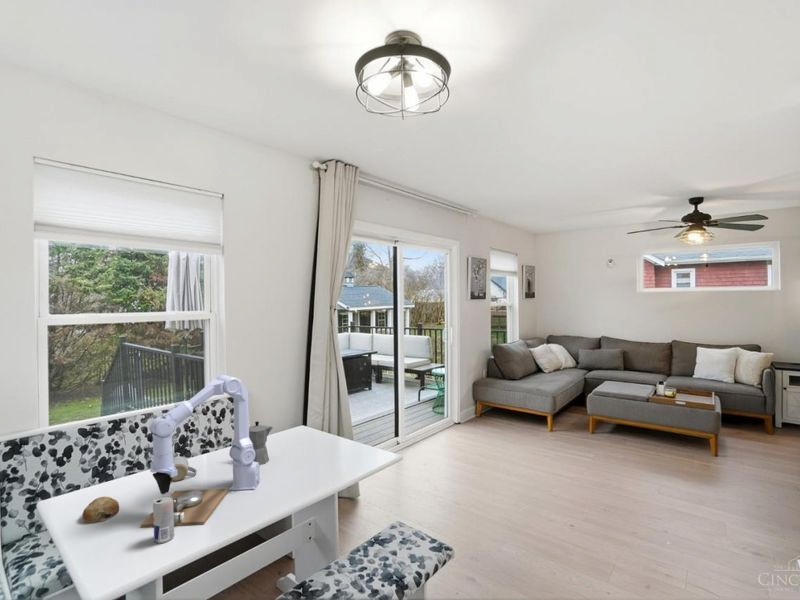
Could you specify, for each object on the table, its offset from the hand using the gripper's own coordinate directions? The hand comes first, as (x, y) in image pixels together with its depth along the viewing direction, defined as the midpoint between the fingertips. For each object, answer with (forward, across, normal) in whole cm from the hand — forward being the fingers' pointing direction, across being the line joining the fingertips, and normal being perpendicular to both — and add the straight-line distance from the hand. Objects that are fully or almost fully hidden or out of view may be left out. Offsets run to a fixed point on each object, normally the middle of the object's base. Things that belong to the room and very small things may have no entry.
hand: (164, 492), depth 142 cm
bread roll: (+8, -19, -13) cm, 24 cm away
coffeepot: (+8, -12, +44) cm, 47 cm away
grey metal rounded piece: (+6, +3, +5) cm, 9 cm away
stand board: (+8, +2, +7) cm, 10 cm away
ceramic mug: (+8, -25, +19) cm, 32 cm away
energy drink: (+8, +14, -7) cm, 18 cm away
